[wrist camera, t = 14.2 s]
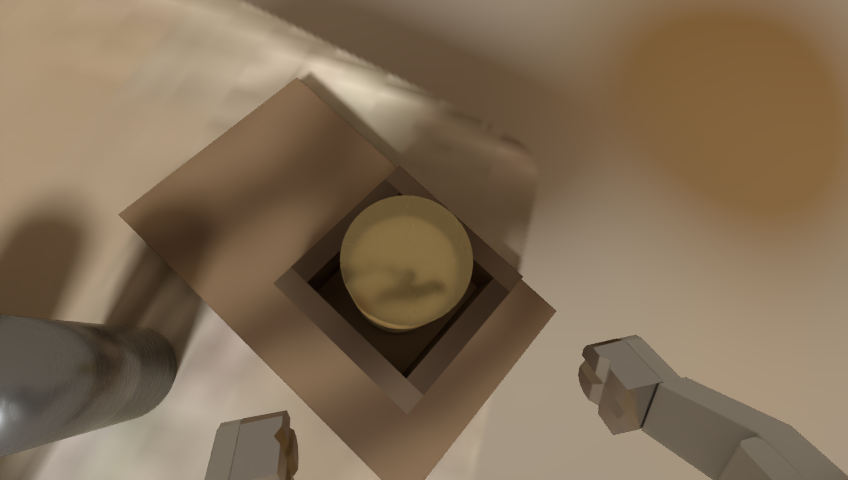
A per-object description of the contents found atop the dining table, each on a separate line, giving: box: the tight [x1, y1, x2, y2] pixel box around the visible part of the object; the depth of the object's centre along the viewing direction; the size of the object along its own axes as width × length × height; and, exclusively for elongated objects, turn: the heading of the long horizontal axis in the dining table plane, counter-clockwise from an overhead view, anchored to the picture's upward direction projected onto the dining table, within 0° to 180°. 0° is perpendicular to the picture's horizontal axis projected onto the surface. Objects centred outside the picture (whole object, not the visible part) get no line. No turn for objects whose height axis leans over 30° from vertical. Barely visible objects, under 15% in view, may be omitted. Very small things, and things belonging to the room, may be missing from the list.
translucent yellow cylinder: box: [340, 195, 473, 333], centre depth 17 cm, size 4×4×8 cm
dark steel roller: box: [0, 315, 176, 457], centre depth 16 cm, size 4×4×8 cm
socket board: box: [118, 78, 556, 480], centre depth 20 cm, size 20×12×4 cm, turn 47°
